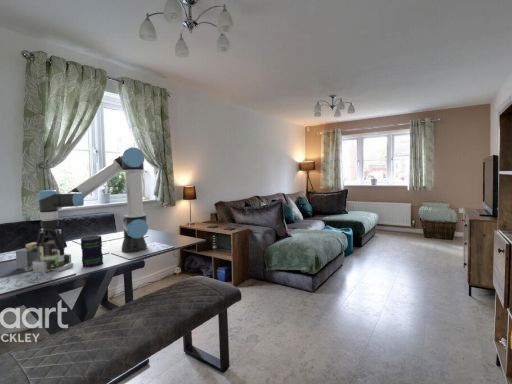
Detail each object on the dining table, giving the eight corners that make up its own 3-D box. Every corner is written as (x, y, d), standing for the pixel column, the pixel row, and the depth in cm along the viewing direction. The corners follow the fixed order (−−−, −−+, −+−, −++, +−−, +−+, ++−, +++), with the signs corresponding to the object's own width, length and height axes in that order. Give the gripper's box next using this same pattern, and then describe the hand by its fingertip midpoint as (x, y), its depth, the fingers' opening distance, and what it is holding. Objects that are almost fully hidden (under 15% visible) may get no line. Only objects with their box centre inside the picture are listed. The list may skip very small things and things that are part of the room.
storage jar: (100, 266, 145) (98, 239, 144) (79, 268, 142) (77, 240, 141) (105, 260, 155) (103, 235, 153) (85, 262, 152) (83, 236, 151)
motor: (52, 274, 135) (50, 249, 134) (11, 269, 143) (9, 246, 142) (78, 264, 149) (77, 242, 148) (40, 260, 157) (38, 239, 156)
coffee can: (69, 265, 149) (68, 239, 147) (52, 271, 138) (50, 244, 137) (54, 264, 151) (52, 239, 150) (35, 270, 141) (33, 244, 139)
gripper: (73, 219, 143) (76, 259, 145) (40, 217, 149) (43, 256, 151) (59, 221, 136) (62, 264, 137) (25, 220, 142) (28, 260, 144)
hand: (52, 260), depth 144 cm, fingers open, 11 cm apart
